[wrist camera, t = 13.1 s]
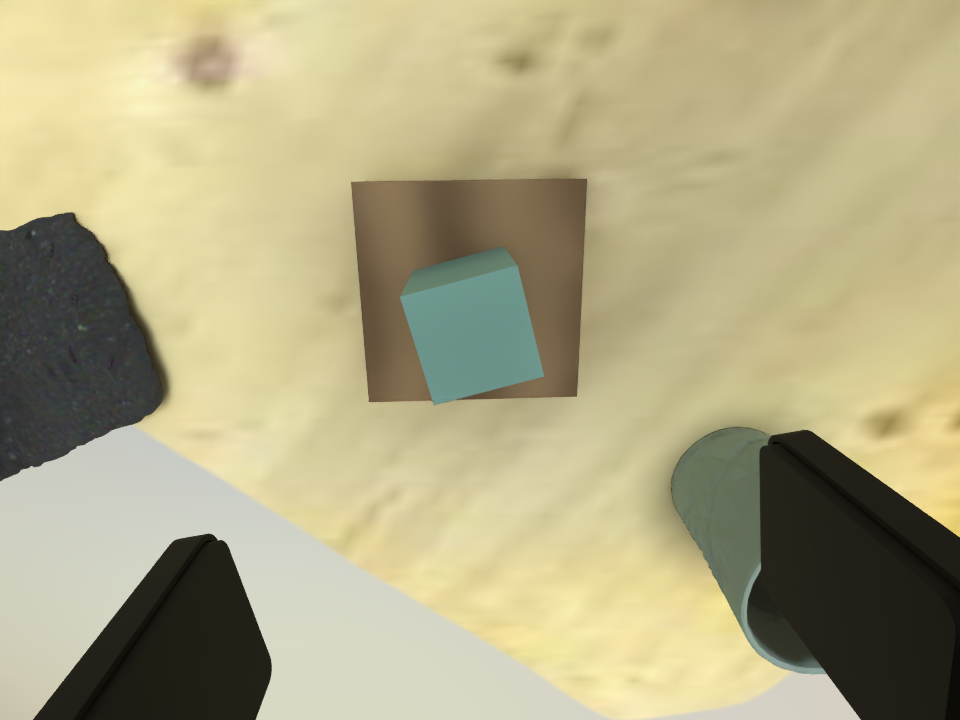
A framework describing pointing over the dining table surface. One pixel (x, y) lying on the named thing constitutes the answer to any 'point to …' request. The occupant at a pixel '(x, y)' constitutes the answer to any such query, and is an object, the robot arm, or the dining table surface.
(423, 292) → the teal block
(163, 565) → the robot arm
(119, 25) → the dining table surface
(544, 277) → the walnut block
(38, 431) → the dark slate chunk
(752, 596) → the grey green cup
